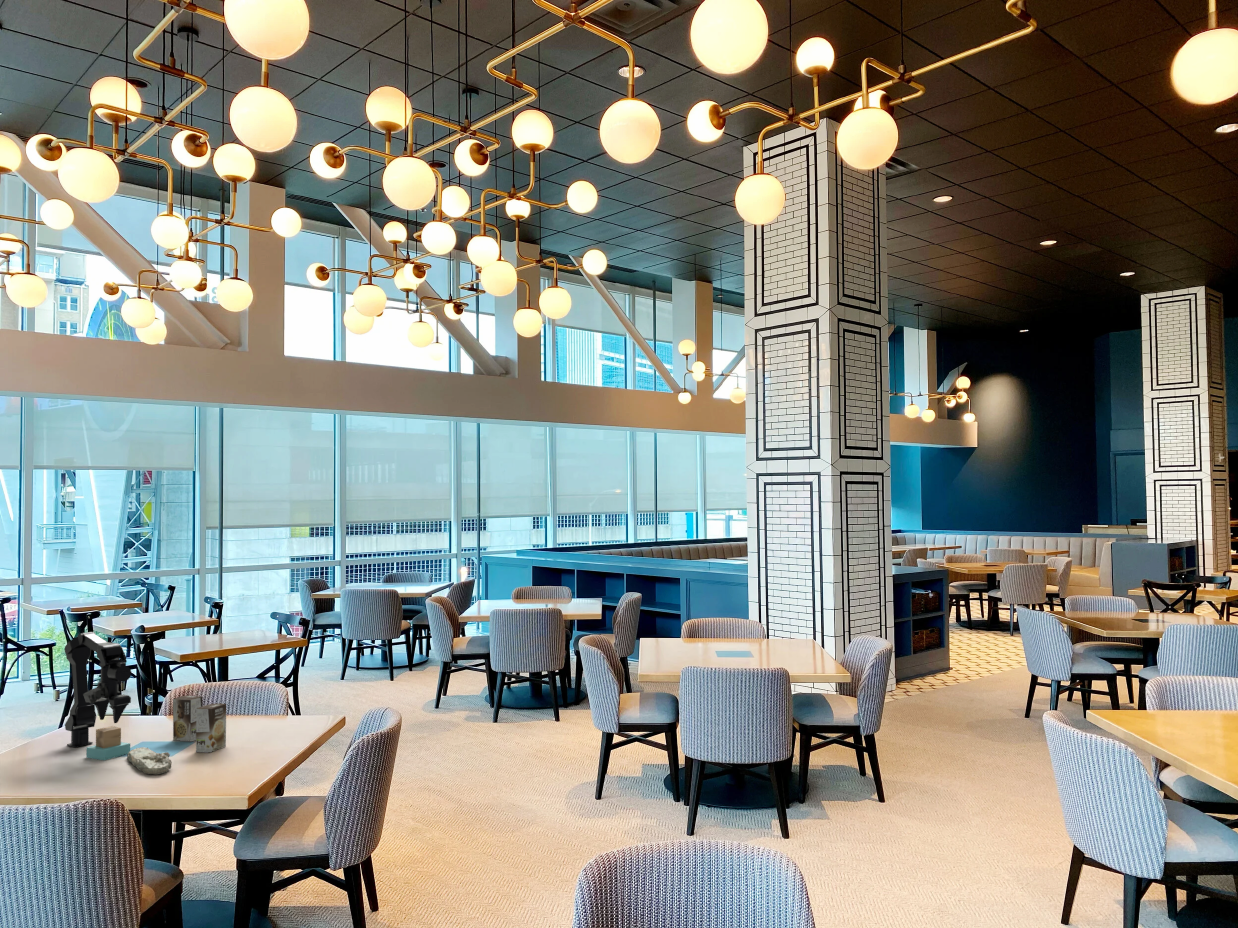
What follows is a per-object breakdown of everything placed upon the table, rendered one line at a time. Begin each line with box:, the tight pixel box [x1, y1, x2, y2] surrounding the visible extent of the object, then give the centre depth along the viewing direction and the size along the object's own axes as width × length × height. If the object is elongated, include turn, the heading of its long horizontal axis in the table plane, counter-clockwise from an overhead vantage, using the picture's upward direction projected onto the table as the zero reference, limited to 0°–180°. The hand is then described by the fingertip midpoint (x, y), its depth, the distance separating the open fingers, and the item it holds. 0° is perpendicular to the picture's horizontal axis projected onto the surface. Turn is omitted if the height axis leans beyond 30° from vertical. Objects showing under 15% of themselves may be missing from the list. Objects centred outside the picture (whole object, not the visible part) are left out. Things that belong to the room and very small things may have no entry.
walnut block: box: [95, 725, 122, 748], centre depth 326 cm, size 6×6×6 cm
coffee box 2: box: [195, 702, 227, 753], centre depth 332 cm, size 9×6×16 cm
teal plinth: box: [85, 741, 131, 761], centre depth 326 cm, size 10×10×4 cm
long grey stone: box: [126, 746, 172, 775], centre depth 313 cm, size 35×5×10 cm
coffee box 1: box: [172, 695, 204, 742], centre depth 348 cm, size 9×6×16 cm
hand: (108, 721), depth 329 cm, fingers open, 9 cm apart
